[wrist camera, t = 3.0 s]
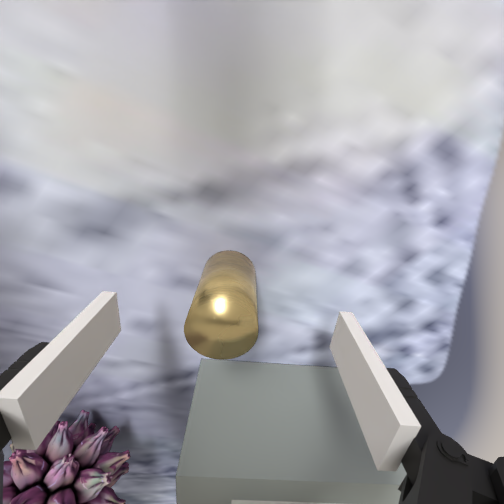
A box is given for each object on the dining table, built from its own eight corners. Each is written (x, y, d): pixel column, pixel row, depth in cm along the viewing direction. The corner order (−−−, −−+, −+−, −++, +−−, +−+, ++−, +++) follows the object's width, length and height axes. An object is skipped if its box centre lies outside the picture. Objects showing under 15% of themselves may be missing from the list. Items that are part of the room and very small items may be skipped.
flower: (165, 403, 25) (103, 600, 14) (131, 465, 30) (63, 653, 19) (46, 367, 23) (-135, 567, 12) (27, 439, 27) (-119, 635, 16)
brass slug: (203, 293, 20) (184, 357, 14) (204, 248, 19) (183, 298, 13) (252, 297, 20) (254, 361, 14) (257, 253, 19) (262, 304, 13)
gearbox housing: (198, 450, 29) (172, 613, 19) (201, 358, 23) (165, 522, 13) (336, 456, 29) (380, 615, 20) (370, 369, 24) (457, 531, 14)
